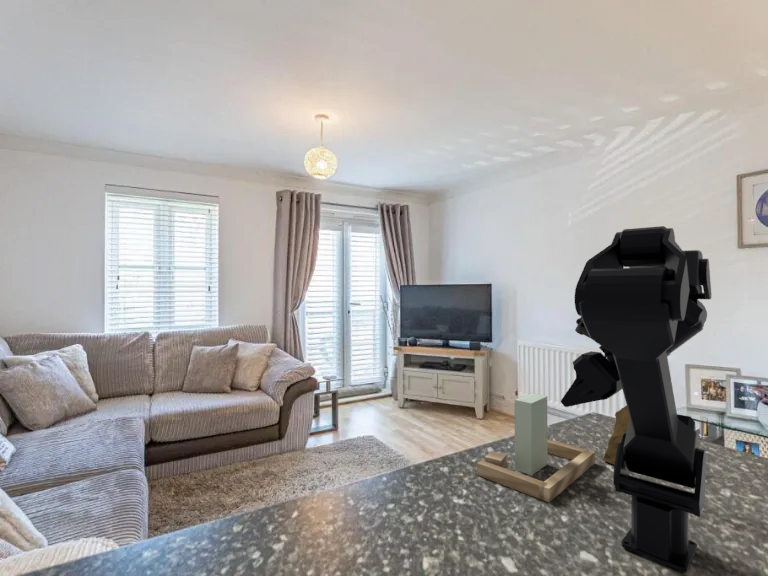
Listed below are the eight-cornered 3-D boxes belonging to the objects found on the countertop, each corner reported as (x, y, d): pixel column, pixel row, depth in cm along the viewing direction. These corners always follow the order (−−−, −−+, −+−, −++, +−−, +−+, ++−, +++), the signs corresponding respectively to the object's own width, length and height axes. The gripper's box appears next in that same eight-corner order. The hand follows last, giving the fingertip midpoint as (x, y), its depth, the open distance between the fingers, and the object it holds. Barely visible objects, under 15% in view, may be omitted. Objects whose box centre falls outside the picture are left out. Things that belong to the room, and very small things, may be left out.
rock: (623, 460, 69) (671, 446, 71) (595, 411, 73) (641, 399, 76) (590, 475, 77) (634, 462, 80) (567, 430, 82) (609, 419, 84)
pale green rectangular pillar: (531, 475, 68) (531, 403, 68) (514, 469, 71) (514, 399, 70) (547, 464, 73) (547, 396, 72) (531, 459, 75) (531, 393, 75)
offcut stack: (498, 476, 68) (498, 462, 68) (480, 469, 71) (480, 455, 70) (509, 469, 71) (509, 455, 71) (492, 463, 73) (492, 449, 73)
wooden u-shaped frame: (549, 502, 60) (549, 488, 60) (476, 474, 69) (476, 462, 69) (594, 463, 73) (594, 452, 73) (529, 444, 82) (529, 434, 82)
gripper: (630, 293, 69) (563, 352, 77) (588, 295, 56) (513, 366, 64) (688, 345, 63) (609, 403, 71) (656, 361, 50) (564, 429, 58)
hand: (575, 398), depth 66 cm, fingers open, 9 cm apart
